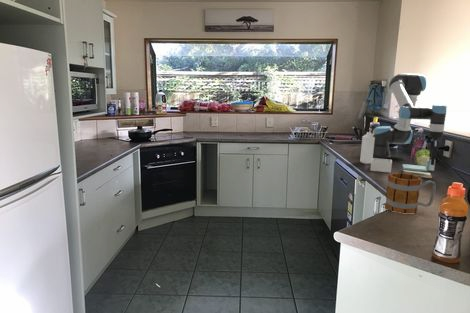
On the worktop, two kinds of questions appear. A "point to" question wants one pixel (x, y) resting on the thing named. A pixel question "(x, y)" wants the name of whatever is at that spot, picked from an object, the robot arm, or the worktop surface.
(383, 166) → the tub
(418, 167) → the lid
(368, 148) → the milk
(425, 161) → the lettuce
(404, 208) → the mug
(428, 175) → the board
